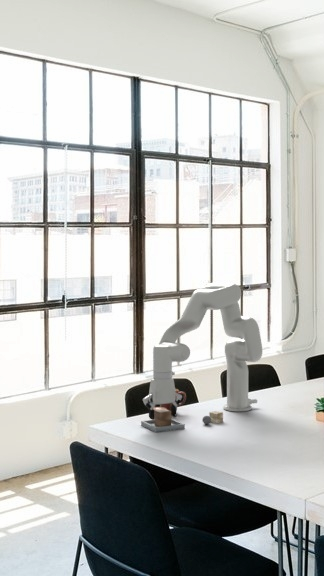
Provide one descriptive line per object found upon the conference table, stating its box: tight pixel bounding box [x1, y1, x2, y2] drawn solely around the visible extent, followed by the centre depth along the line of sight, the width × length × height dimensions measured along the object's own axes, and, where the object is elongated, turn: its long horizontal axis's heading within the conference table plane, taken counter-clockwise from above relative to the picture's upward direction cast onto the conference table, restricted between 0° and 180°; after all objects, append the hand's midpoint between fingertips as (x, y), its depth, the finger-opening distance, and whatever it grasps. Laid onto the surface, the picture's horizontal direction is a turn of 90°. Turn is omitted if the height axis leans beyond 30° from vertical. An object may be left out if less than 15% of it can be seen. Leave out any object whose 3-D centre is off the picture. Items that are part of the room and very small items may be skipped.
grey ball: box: [202, 415, 212, 426], centre depth 294 cm, size 4×4×4 cm
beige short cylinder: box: [153, 406, 166, 419], centre depth 301 cm, size 6×6×5 cm
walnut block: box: [155, 409, 172, 427], centre depth 290 cm, size 5×5×6 cm
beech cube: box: [208, 410, 224, 424], centre depth 299 cm, size 4×4×4 cm
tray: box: [140, 417, 185, 433], centre depth 290 cm, size 13×13×2 cm
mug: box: [159, 388, 187, 413], centre depth 314 cm, size 12×9×10 cm
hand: (162, 417), depth 289 cm, fingers open, 9 cm apart
